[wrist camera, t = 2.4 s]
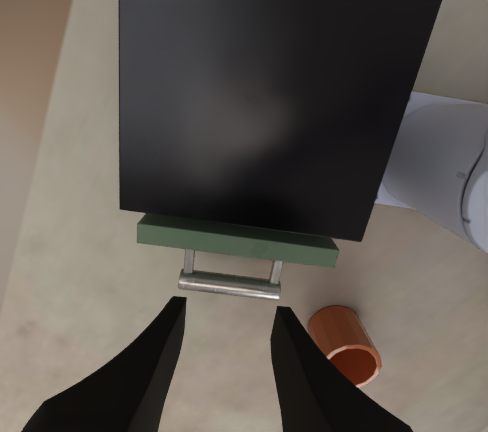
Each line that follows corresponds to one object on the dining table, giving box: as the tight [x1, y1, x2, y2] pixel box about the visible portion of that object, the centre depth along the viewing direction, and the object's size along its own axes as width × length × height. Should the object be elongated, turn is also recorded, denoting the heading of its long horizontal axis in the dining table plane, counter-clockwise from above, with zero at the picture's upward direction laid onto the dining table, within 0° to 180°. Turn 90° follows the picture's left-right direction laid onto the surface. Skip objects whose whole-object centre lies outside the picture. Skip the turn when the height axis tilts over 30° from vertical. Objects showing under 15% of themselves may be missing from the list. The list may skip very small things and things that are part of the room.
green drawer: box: [137, 213, 339, 301], centre depth 18 cm, size 16×11×6 cm
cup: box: [308, 306, 382, 388], centre depth 25 cm, size 5×5×5 cm
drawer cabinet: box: [119, 0, 442, 242], centre depth 16 cm, size 12×12×8 cm
